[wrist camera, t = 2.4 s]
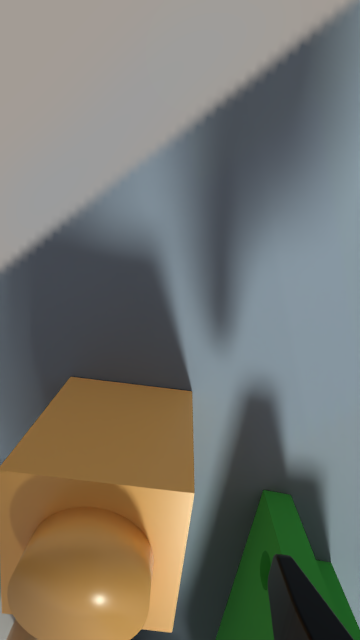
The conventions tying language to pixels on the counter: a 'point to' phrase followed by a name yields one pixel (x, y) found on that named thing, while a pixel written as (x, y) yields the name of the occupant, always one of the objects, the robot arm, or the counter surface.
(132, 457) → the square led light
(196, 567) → the counter surface
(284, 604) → the robot arm
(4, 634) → the plate
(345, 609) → the pipe clamp
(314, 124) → the counter surface
